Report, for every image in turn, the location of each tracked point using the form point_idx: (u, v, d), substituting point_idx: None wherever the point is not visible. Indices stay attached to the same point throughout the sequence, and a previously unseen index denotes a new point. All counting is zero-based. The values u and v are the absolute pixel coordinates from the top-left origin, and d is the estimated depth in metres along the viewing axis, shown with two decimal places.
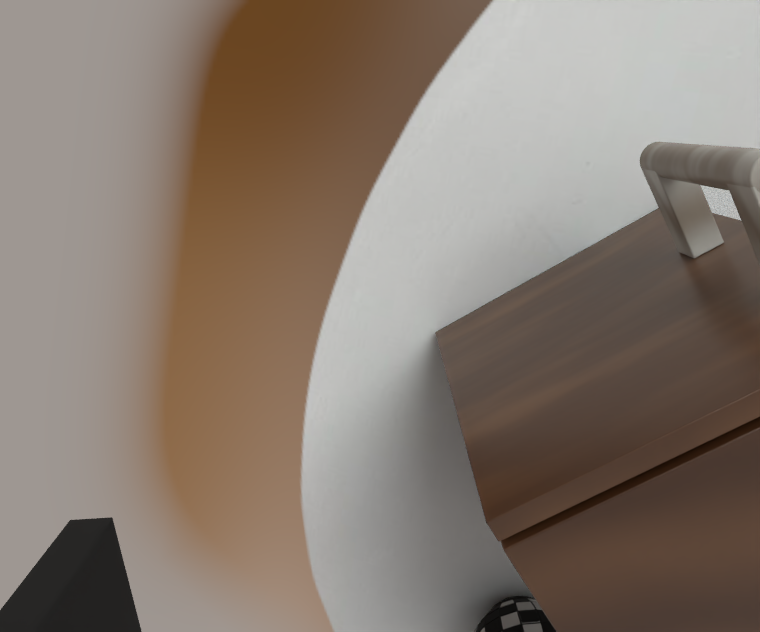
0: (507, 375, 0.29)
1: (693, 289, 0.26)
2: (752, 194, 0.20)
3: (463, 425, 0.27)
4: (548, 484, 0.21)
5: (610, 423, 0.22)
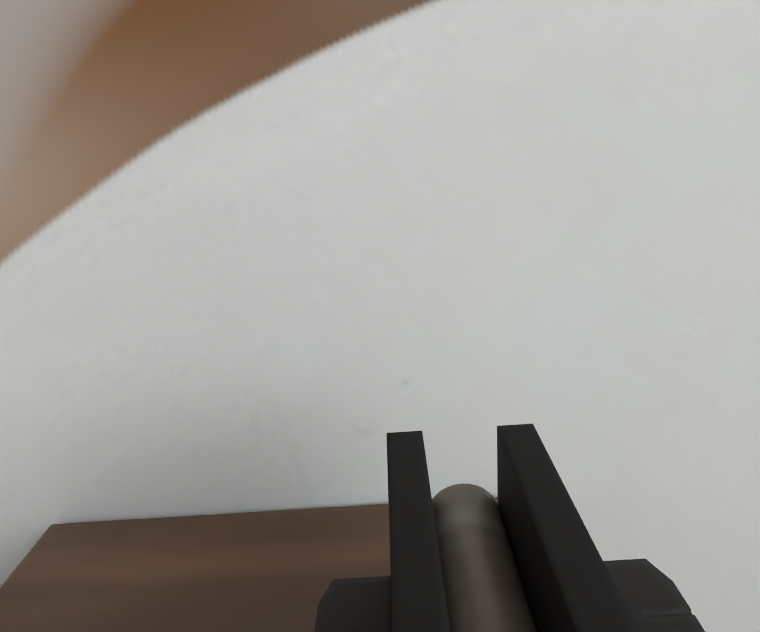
0: None
1: None
2: None
3: None
4: None
5: None
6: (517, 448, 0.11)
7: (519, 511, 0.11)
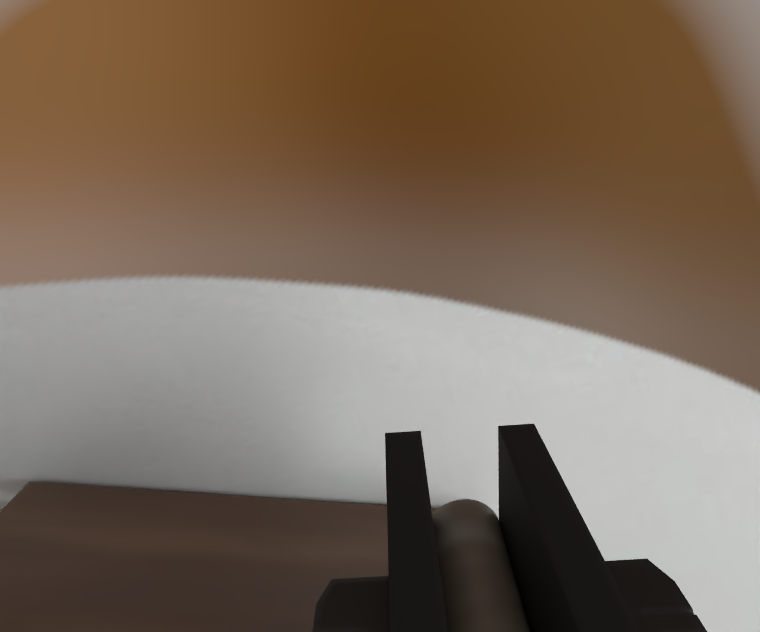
0: None
1: None
2: None
3: None
4: None
5: None
6: (518, 448, 0.11)
7: (520, 511, 0.11)
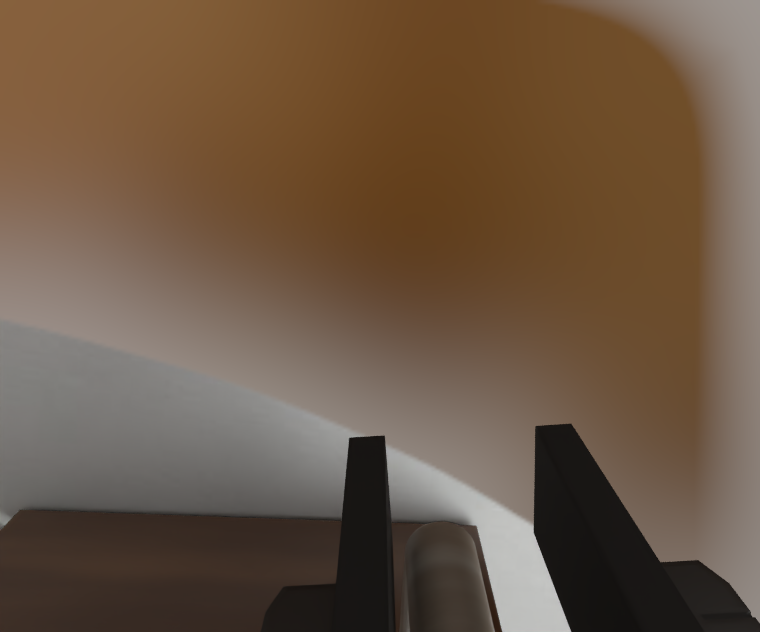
0: None
1: None
2: None
3: None
4: None
5: None
6: (558, 448, 0.11)
7: (564, 512, 0.10)
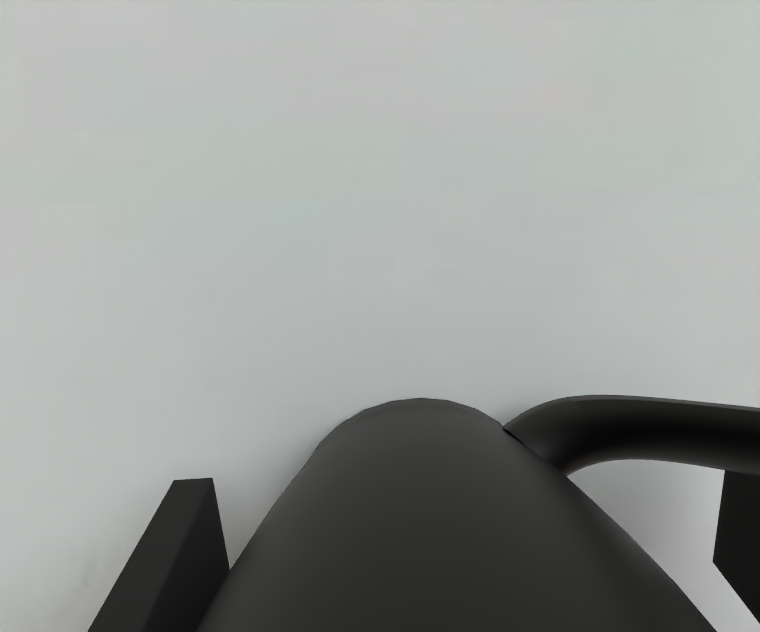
0: None
1: None
2: None
3: None
4: None
5: None
6: None
7: None
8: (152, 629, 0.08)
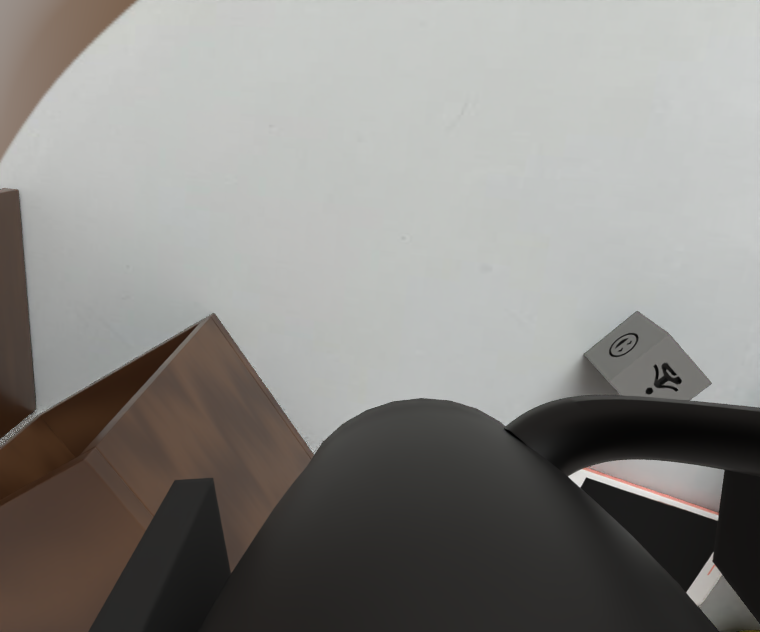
0: None
1: None
2: None
3: None
4: None
5: None
6: None
7: None
8: (153, 629, 0.08)
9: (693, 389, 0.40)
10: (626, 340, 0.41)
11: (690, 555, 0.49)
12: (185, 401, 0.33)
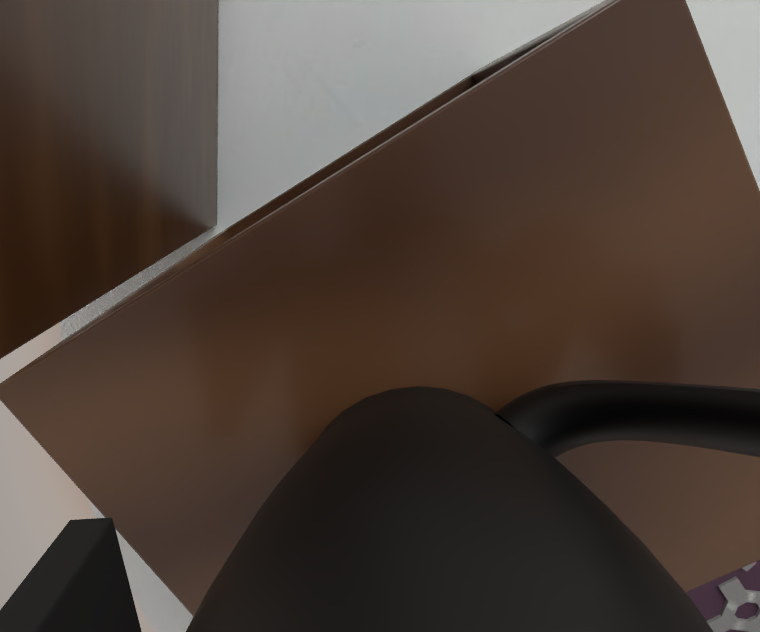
0: None
1: None
2: None
3: None
4: None
5: None
6: None
7: None
8: None
9: None
10: None
11: None
12: None
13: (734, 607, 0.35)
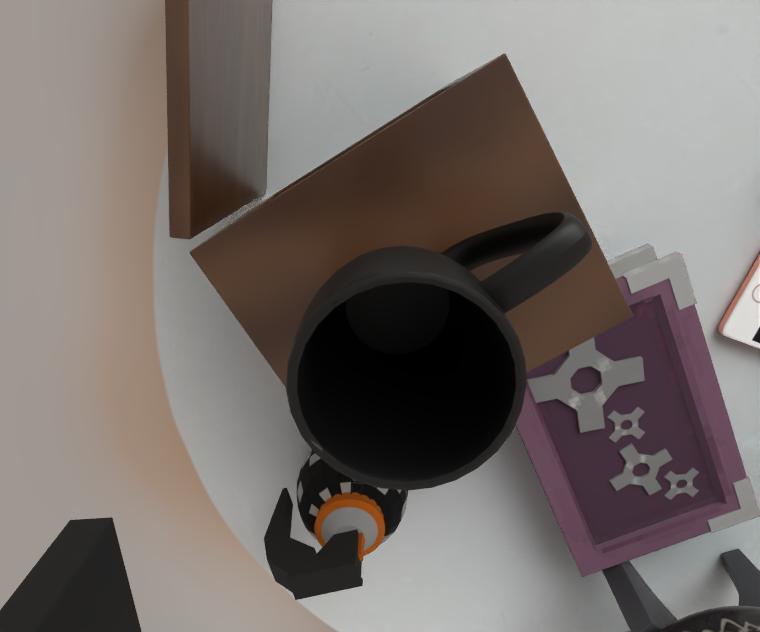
0: None
1: None
2: None
3: None
4: (171, 182, 0.27)
5: None
6: None
7: None
8: None
9: None
10: None
11: None
12: None
13: (631, 466, 0.49)
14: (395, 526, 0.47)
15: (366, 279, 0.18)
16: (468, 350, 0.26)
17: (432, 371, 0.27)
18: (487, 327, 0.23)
